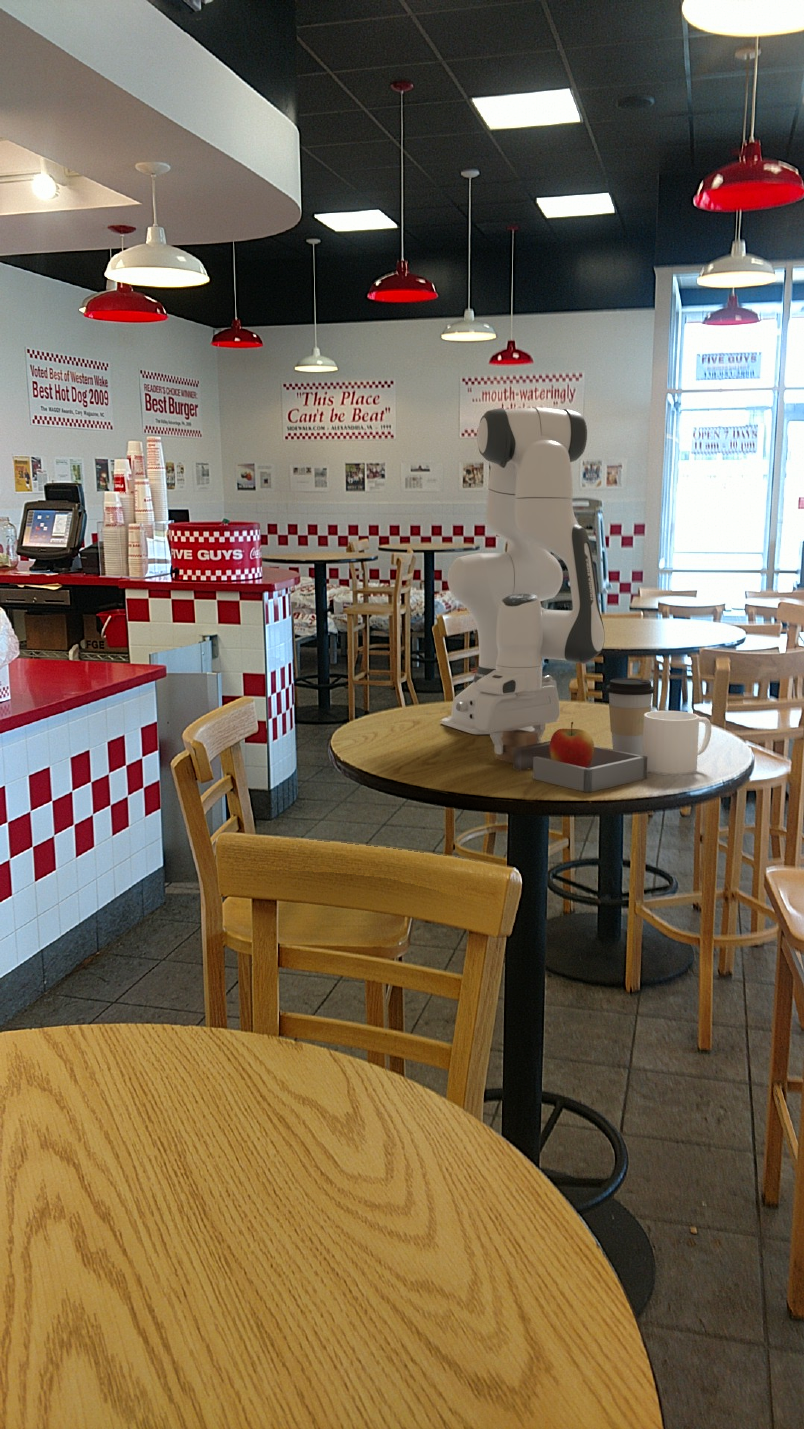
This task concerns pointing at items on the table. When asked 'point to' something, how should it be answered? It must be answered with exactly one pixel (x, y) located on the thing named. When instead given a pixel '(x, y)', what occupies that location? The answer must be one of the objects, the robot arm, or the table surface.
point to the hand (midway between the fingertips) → (517, 750)
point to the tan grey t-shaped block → (523, 748)
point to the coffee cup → (628, 712)
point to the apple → (572, 747)
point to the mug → (673, 741)
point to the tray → (593, 770)
